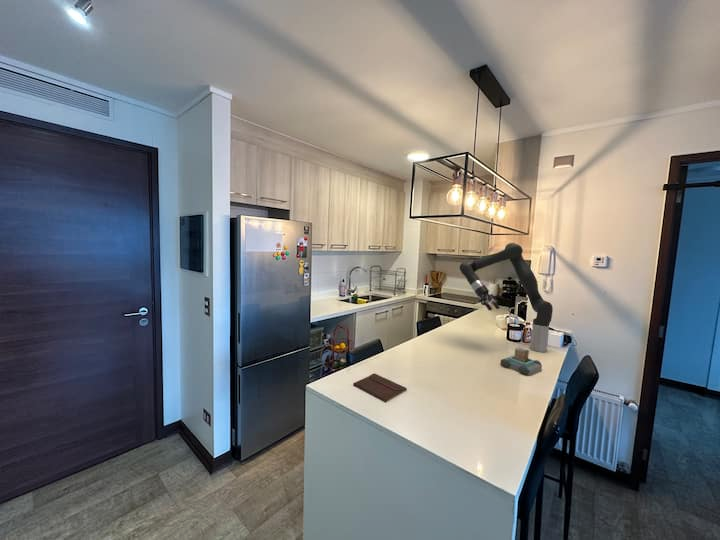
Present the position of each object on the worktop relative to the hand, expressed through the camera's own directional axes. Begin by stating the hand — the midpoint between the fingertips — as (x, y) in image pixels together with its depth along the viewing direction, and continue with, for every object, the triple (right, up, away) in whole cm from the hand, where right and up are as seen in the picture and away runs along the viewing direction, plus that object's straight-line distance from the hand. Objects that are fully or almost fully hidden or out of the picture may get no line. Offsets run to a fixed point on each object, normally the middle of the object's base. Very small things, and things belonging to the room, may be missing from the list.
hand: (494, 309), depth 181 cm
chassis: (+6, -30, -18) cm, 36 cm away
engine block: (+6, -27, -19) cm, 34 cm away
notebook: (-75, -31, -47) cm, 94 cm away
